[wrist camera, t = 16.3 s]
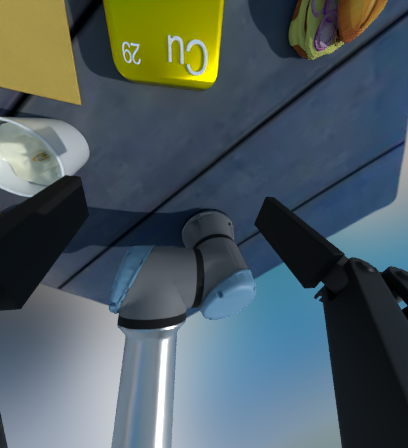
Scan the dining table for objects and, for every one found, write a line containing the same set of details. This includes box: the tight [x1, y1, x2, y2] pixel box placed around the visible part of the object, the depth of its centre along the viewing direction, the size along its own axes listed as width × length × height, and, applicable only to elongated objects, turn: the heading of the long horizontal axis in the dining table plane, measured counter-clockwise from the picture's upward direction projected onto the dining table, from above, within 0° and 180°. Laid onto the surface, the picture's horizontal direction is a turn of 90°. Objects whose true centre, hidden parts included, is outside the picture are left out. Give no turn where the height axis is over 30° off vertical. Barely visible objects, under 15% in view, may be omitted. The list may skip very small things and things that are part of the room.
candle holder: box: [0, 117, 89, 197], centre depth 25 cm, size 10×10×12 cm
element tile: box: [103, 0, 224, 91], centre depth 22 cm, size 15×15×5 cm
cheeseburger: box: [289, 0, 388, 60], centre depth 24 cm, size 10×11×10 cm
